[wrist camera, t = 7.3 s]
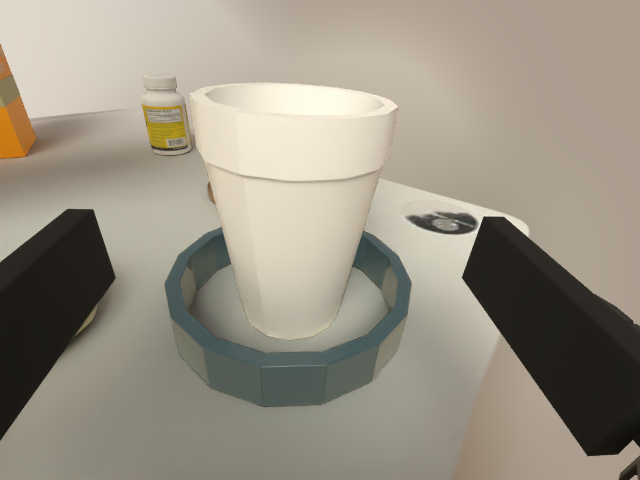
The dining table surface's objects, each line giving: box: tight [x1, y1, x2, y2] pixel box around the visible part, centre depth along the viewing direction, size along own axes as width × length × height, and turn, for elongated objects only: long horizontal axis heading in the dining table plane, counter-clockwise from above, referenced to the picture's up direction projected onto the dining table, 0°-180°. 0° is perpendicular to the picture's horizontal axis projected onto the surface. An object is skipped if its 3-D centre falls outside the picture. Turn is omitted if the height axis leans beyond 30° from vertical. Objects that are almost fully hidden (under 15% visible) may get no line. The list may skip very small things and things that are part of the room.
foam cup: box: [189, 83, 398, 340], centre depth 19 cm, size 10×9×13 cm
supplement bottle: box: [141, 74, 192, 155], centre depth 46 cm, size 5×5×10 cm
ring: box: [165, 227, 412, 407], centre depth 22 cm, size 15×15×3 cm
